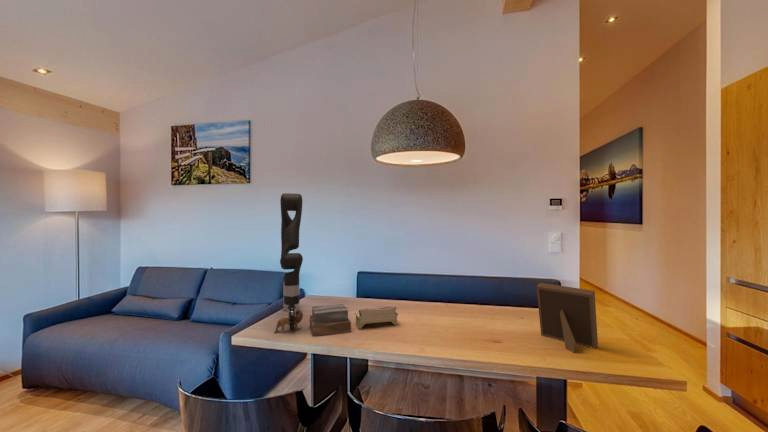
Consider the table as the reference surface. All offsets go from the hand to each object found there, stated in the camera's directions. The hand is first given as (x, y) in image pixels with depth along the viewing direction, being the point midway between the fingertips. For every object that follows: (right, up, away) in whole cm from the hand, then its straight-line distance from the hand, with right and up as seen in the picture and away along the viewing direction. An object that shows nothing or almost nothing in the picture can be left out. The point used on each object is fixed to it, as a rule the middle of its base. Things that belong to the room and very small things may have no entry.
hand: (291, 328), depth 159 cm
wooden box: (+18, -1, +2) cm, 18 cm away
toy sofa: (+41, -1, +7) cm, 42 cm away
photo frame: (+124, -1, -18) cm, 126 cm away
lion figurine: (-1, -1, 0) cm, 2 cm away
